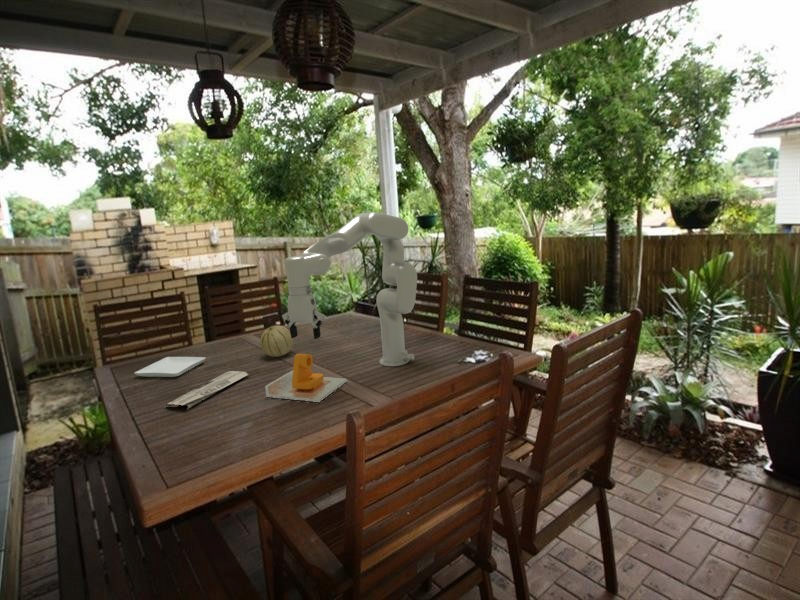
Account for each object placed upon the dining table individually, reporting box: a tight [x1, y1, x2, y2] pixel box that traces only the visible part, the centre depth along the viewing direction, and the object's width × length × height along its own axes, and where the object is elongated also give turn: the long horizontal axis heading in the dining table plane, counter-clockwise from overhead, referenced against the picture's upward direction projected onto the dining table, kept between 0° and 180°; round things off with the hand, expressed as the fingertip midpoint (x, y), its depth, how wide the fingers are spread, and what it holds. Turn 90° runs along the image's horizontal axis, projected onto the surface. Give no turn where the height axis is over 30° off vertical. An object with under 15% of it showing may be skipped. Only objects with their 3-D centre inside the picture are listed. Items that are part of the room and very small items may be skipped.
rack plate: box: [264, 369, 348, 402], centre depth 168 cm, size 22×20×4 cm
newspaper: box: [164, 370, 250, 410], centre depth 174 cm, size 35×12×4 cm, turn 163°
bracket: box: [292, 353, 325, 389], centre depth 167 cm, size 11×7×12 cm, turn 160°
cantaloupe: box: [259, 325, 294, 358], centre depth 212 cm, size 15×15×15 cm
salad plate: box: [134, 356, 207, 378], centre depth 203 cm, size 21×21×3 cm
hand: (305, 337), depth 165 cm, fingers open, 9 cm apart
